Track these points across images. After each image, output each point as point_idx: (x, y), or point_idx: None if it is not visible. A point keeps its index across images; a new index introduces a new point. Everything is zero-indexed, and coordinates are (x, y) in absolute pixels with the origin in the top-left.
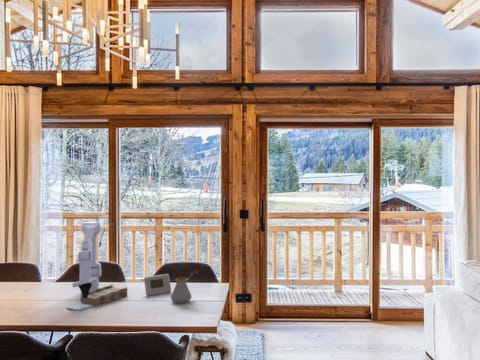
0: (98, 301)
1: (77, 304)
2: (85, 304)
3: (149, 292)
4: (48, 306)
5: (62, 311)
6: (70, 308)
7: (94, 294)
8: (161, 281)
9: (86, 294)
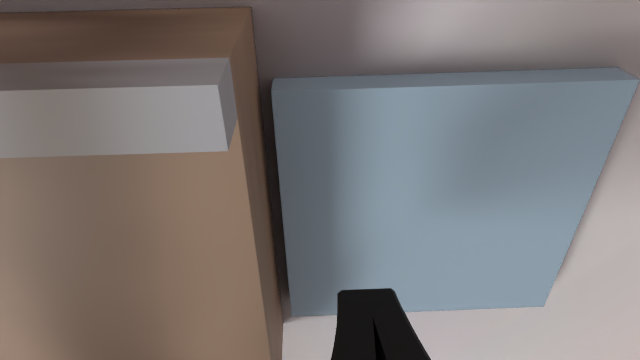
0: (207, 38)
1: None
2: (341, 221)
3: None
4: None
5: (628, 262)
6: (564, 248)
7: (78, 355)
8: None
9: (396, 348)
